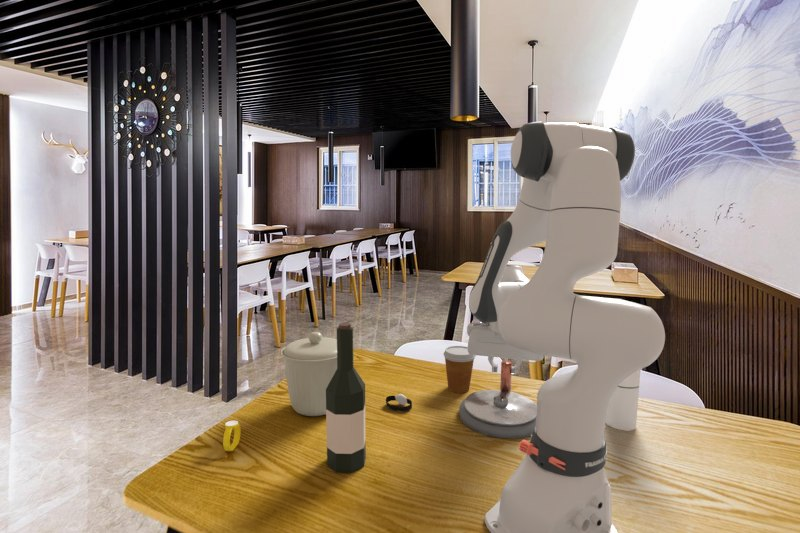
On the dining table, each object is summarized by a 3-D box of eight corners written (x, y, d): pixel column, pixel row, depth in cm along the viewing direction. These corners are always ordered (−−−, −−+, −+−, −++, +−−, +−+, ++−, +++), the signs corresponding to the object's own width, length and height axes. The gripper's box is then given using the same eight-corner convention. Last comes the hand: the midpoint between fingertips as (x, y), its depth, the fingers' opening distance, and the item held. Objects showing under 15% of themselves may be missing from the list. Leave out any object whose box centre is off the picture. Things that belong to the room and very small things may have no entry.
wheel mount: (505, 448, 96) (505, 439, 96) (442, 413, 113) (442, 405, 112) (559, 421, 108) (560, 413, 108) (495, 393, 125) (496, 386, 125)
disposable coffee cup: (437, 385, 131) (437, 347, 129) (463, 380, 135) (464, 343, 133) (453, 397, 122) (454, 357, 121) (481, 391, 126) (482, 352, 125)
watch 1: (232, 442, 99) (231, 417, 98) (243, 442, 99) (243, 417, 98) (220, 454, 93) (219, 428, 92) (232, 455, 93) (232, 428, 92)
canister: (314, 431, 103) (312, 347, 100) (268, 410, 114) (265, 334, 111) (364, 405, 117) (363, 330, 115) (319, 388, 128) (317, 320, 126)
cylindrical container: (628, 417, 111) (635, 323, 108) (641, 431, 104) (649, 331, 101) (600, 416, 111) (606, 322, 108) (610, 429, 104) (617, 330, 101)
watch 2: (415, 407, 116) (415, 394, 116) (407, 414, 112) (407, 401, 112) (390, 401, 120) (390, 389, 119) (382, 408, 116) (382, 395, 115)
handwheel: (534, 432, 98) (536, 392, 97) (456, 418, 105) (457, 380, 104) (540, 399, 116) (542, 365, 115) (473, 388, 123) (474, 356, 122)
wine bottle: (323, 455, 93) (320, 321, 89) (360, 448, 96) (359, 317, 92) (331, 477, 85) (328, 331, 81) (371, 468, 88) (370, 327, 84)
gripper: (465, 323, 116) (464, 372, 117) (545, 329, 110) (543, 380, 112) (468, 318, 122) (467, 365, 123) (544, 323, 116) (542, 372, 118)
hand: (504, 372), depth 117 cm, fingers open, 4 cm apart
